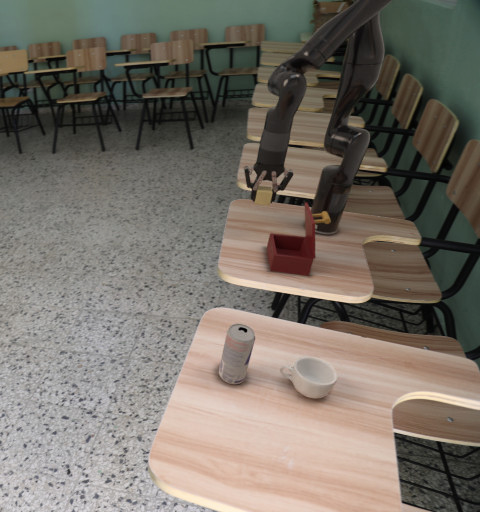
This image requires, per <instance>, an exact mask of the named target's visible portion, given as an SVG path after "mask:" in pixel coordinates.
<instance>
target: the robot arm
mask: <svg viewBox="0 0 480 512" xmlns="http://www.w3.org/2000/svg"><path fill="white" fill-rule="evenodd" d="M393 1H394V0H353V3H352V4H351V5H350V6H348V7H347V8H345V9H344V10H342V11H341V12H339V13H338V14H336V15H335V16H333V17H332V18H331V19H329V20H328V21H326V22H324V24H322V25H321V26H320V27H319V28H318V29H317V30H316V31H315V32H314V33H312V35H311V36H310V38H308V39H307V41H306V42H305V43H304V44H303V45H302V47H300V49H298V51H296V52H295V53H293V54H292V55H290V56H289V57H288V58H286V59H285V60H283V62H281V63H280V64H278V65H277V66H276V68H274V70H273V71H271V74H270V75H269V77H268V79H267V85H266V86H267V90H268V92H269V93H270V94H272V95H274V96H276V97H278V100H277V102H276V105H273V106H271V107H269V108H268V110H267V112H266V115H265V120H264V126H263V129H262V133H261V136H260V139H259V145H258V152H257V157H256V161H255V163H254V164H253V165H252V166H248V165H245V166H244V167H243V172H244V177H245V184H246V188H248V189H251V191H250V200H252V202H254V203H255V199H256V194H257V188H258V186H261V184H262V182H263V181H268V182H271V185H272V186H271V188H272V198H271V202H270V204H273V203H274V202H275V201H276V197H277V193H278V192H283V191H285V190H286V188H287V187H288V185H289V183H290V181H292V178H293V176H294V171H293V170H292V169H288V168H285V162H286V158H287V153H288V149H289V144H290V140H291V132H292V128H293V124H294V118H295V116H296V113H297V112H298V110H299V108H300V106H301V104H302V102H303V100H304V98H305V96H306V93H307V87H308V84H307V83H308V81H307V78H306V76H305V75H304V74H306V73H308V72H315V71H318V70H319V69H320V68H321V67H323V66H324V65H325V63H327V62H328V60H329V59H330V58H331V57H332V56H333V55H334V54H335V53H336V52H337V51H338V50H339V49H340V47H342V46H343V44H344V43H345V42H347V45H346V50H345V53H344V56H343V57H344V58H343V60H342V61H343V62H342V67H341V72H340V78H339V82H338V87H337V92H336V96H335V101H334V105H333V109H332V112H331V114H330V119H329V122H328V125H327V127H326V131H325V136H324V140H323V149H324V151H325V152H326V153H327V154H329V155H331V156H334V157H337V158H341V159H342V161H341V163H340V164H330V165H326V166H324V167H323V168H322V170H321V172H320V176H319V179H318V183H317V187H316V190H315V194H314V197H313V201H312V204H311V207H310V211H311V214H320V213H322V212H324V211H326V212H327V213H328V215H329V218H330V220H331V222H330V223H329V224H325V223H315V234H319V235H324V236H330V235H334V234H336V233H338V230H339V226H340V223H341V221H342V217H343V214H344V212H345V208H346V205H347V203H348V199H349V196H350V194H351V193H350V192H351V189H352V187H353V184H354V181H355V178H356V176H357V174H358V173H359V170H360V168H361V165H362V163H363V160H364V157H365V155H366V153H367V150H368V148H369V145H370V141H371V133H370V132H369V131H368V130H367V129H364V128H361V127H359V126H355V125H351V124H349V120H350V117H351V113H352V112H353V109H354V108H355V106H356V105H357V104H358V102H360V100H361V99H363V98H364V96H366V95H367V94H368V93H369V92H370V91H371V90H372V88H373V87H374V86H375V85H376V84H377V81H379V77H380V74H381V70H382V66H383V62H384V59H385V43H384V38H383V33H382V29H381V21H380V13H381V11H382V10H383V9H384V8H385V7H387V6H388V5H389V4H390V3H392V2H393ZM253 171H254V173H255V174H256V177H255V179H254V182H252V181H251V175H252V174H253ZM282 174H283V178H282V180H281V182H280V183H279V184H278V180H277V179H278V178H279V177H280V176H281V175H282ZM313 219H314V220H320V219H323V218H322V217H313Z"/></svg>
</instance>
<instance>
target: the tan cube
mask: <svg viewBox="0 0 480 512" xmlns="http://www.w3.org/2000/svg"><path fill="white" fill-rule="evenodd" d="M272 188H273V187H272V186H265V185H259V186H258V188H257V194H256V199H255V202H254V205H258V206H267V207H269V206H271V203H270V202H271V198H272Z"/></svg>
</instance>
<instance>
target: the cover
mask: <svg viewBox="0 0 480 512" xmlns="http://www.w3.org/2000/svg"><path fill="white" fill-rule="evenodd" d="M313 217H322V218H323V219H320V220H314V219H313ZM330 222H331V220H330V218H329V215H328V213H327V212H326V211H324V212H322V213H320V214H311V207H310V205H309V202H304V235H305V236H304V237H306V239H307V243H308V246H309V249H310V252H311V255H312V258H313V259H316V233H315V223H325V224H329V223H330Z"/></svg>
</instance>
